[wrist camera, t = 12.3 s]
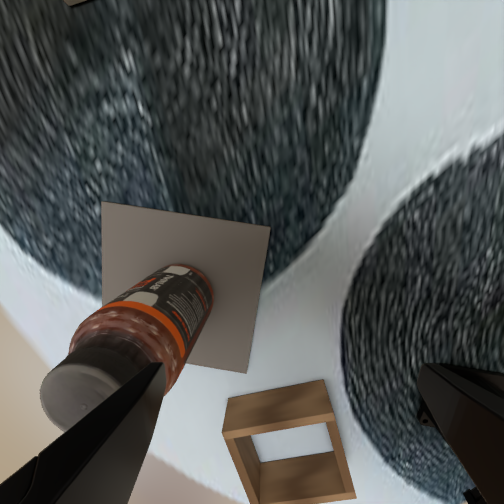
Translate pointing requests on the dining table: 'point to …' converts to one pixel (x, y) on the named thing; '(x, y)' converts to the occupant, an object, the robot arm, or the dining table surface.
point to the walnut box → (294, 469)
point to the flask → (73, 2)
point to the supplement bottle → (129, 341)
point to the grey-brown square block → (199, 257)
